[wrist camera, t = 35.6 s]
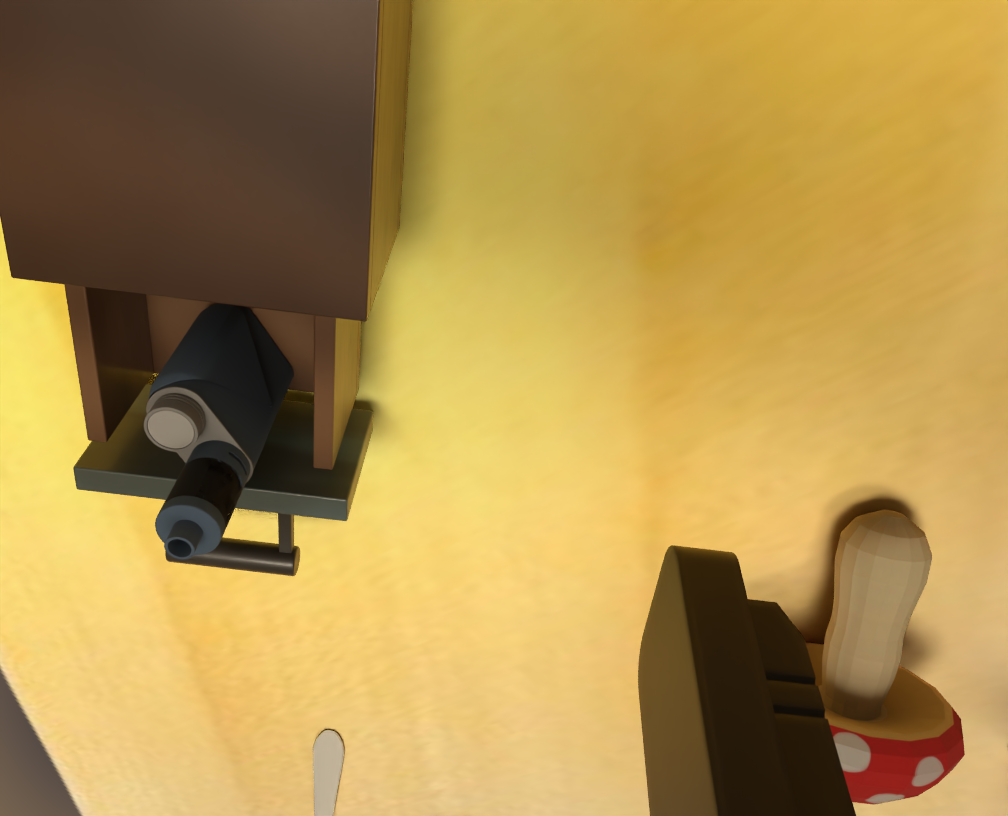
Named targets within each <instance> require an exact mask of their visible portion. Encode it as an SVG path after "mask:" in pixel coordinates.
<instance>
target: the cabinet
mask: <svg viewBox="0 0 1008 816" xmlns="http://www.w3.org/2000/svg"><path fill="white" fill-rule="evenodd" d="M412 8H413V0H0V217H1V223H2V228H3V234H4V239H5V244H6V250H7V255H8V261H9V266H10V271H11V276H12V277H13V278H19V279H27V280H35V281H43V282H51V283H59V284H67V285H75V286H83V287H91V288H99V289H107V290H116V291H124V292H132V293H140V294H148V295H156V296H164V297H172V298H180V299H188V300H196V301H204V302H212V303H220V304H228V305H236V306H244V307H252V308H261V309H269V310H277V311H285V312H293V313H301V314H309V315H317V316H325V317H333V318H341V319H349V320H357V321H366V320H367V318H368V315H369V312H370V310H371V307H372V304H373V302H374V299H375V296H376V293H377V290H378V287H379V285H380V282H381V279H382V276H383V273H384V270H385V267H386V265H387V262H388V259H389V256H390V253H391V250H392V247H393V245H394V242H395V239H396V236H397V233H398V230H399V226H400V209H401V192H402V176H403V159H404V142H405V125H406V109H407V92H408V75H409V58H410V42H411V25H412Z"/></svg>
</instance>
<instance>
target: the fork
mask: <svg viewBox="0 0 1008 816" xmlns="http://www.w3.org/2000/svg"><path fill="white" fill-rule="evenodd" d="M343 759H344V746H343V742H342V740H341V738H340V736H339V735H338V734H337V733H336V732H335V731H331V730H325V731H323V732H321V734H320V735H319V736H318V737H317V738H316V740H315V743H314V746H313V772H314V814H315V816H333V813H334V808H335V802H336V797H337V791H338V786H339V781H340V776H341V771H342V765H343Z"/></svg>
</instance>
